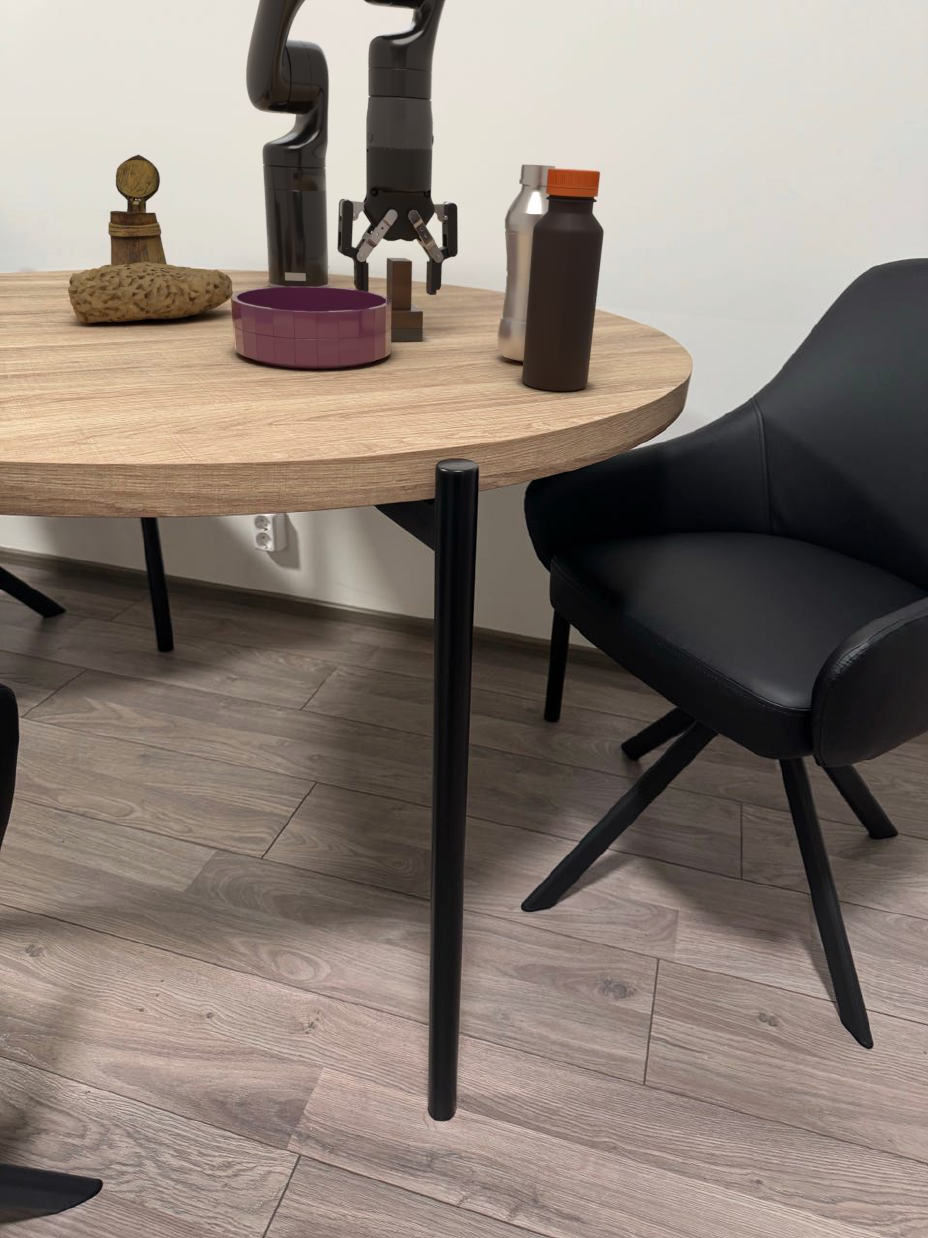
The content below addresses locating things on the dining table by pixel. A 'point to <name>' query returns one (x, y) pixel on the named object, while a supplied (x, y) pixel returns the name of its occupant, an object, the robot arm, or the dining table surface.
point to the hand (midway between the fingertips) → (397, 294)
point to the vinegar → (563, 283)
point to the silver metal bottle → (521, 257)
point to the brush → (403, 302)
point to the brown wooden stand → (136, 215)
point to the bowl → (311, 326)
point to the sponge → (146, 292)
